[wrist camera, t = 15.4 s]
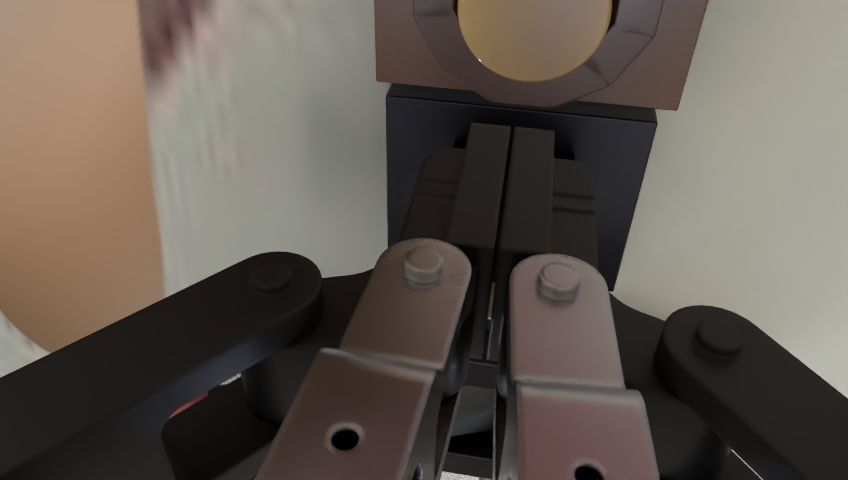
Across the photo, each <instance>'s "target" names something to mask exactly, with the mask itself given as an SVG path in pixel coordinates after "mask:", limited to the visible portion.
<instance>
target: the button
mask: <svg viewBox="0 0 848 480" xmlns="http://www.w3.org/2000/svg"><path fill="white" fill-rule="evenodd" d="M611 12H612V0H458V19H459V25H460V29H461V32H462V35H463V37H464V40H465V42H466V44H467V45H468V47H469V49H470V50H471V52H472V53H473V54H474V55H475V57H476V58H477V59H478V60H479V61H480V62H481V63H482V64H483V65H485V66H486V67H487V68H489V69H490V70H492V71H493V72H495V73H497V74H499V75H501V76H503V77H506V78H509V79H512V80H516V81H523V82H541V81H547V80H552V79H555V78H558V77H561V76H564V75H566V74H568V73H570V72H572V71H573V70H575V69H576V68H578V67H579V66H581V65H582V64H583V63H584V62H586V61H587V60H588V59H589V58H590V57H591V56H592V55H593V54H594V52H595V51H596V50H597V48H598V47H599V46H600V44H601V42H602V40H603V39H604V37H605V34H606V32H607V29H608V27H609V23H610V19H611Z"/></svg>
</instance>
